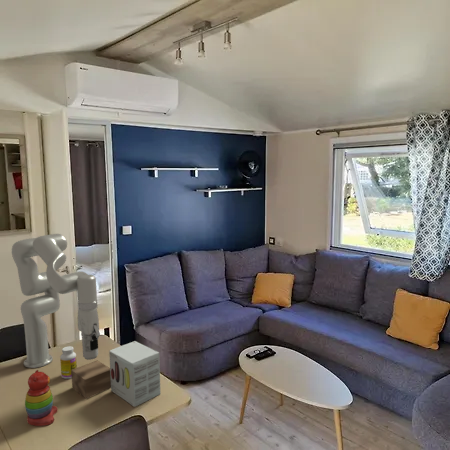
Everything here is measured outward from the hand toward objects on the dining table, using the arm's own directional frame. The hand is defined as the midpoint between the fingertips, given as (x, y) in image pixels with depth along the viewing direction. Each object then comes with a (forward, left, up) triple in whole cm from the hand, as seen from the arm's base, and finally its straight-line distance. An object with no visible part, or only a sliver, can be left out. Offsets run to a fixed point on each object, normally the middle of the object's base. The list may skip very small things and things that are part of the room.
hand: (90, 346), depth 170 cm
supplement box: (+17, +10, -18) cm, 27 cm away
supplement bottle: (-17, -2, -18) cm, 25 cm away
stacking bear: (+6, -24, -18) cm, 31 cm away
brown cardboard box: (0, 0, -18) cm, 18 cm away
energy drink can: (0, 0, -5) cm, 5 cm away
